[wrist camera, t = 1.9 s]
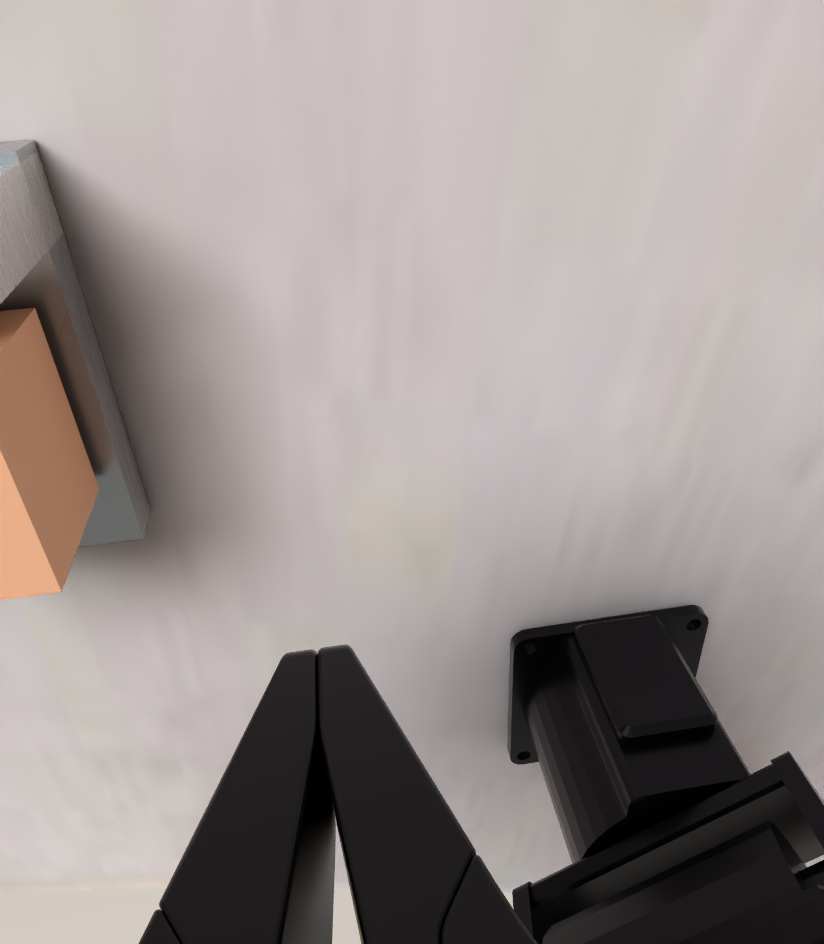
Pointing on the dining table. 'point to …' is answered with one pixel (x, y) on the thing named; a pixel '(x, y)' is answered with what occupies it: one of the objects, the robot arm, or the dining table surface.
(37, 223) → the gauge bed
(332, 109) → the dining table surface
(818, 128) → the dining table surface
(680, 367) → the dining table surface
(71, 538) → the cardboard box
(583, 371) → the dining table surface
